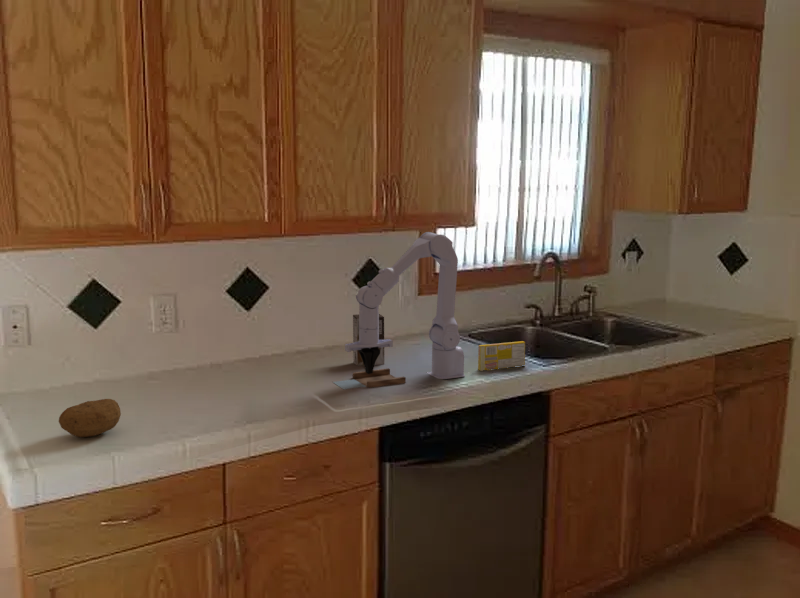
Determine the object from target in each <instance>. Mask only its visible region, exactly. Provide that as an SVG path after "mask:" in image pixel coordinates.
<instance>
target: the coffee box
mask: <svg viewBox="0 0 800 598" xmlns="http://www.w3.org/2000/svg"><path fill="white" fill-rule="evenodd" d="M352 338H353V339H352V340H353V341H352V343H354V342H358V341H359V313H358V314H353V315H352ZM379 340H385V316H384V315H382V314H380V313H379ZM378 349H379V350H380V354H379V356H378V358H377V360H376V362H375V365H374V366H377V365H385V347H381V348H378ZM352 352H353V353H352V355H353V356H352V357H353V358H352V360H353V362H352V363H353V364H354V365H355V366H358V367H359V366H364V363H363V360H362V358H361V356H360V354H359V352H358V350H355V351H352Z"/></svg>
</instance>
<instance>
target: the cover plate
mask: <svg viewBox="0 0 800 598" xmlns="http://www.w3.org/2000/svg"><path fill="white" fill-rule="evenodd" d="M332 383H333V384H335V385H336V386H338V387H339V388H341V389H342V390H349V389H358V388H363V387H366V386H365V385H363V384H361V383H360V382H358V381H357V380H355V379H353V378H352V379H345V380H339V381H332Z"/></svg>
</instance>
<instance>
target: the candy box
mask: <svg viewBox="0 0 800 598" xmlns="http://www.w3.org/2000/svg"><path fill="white" fill-rule="evenodd" d="M477 349H478V351H477V352H478V355H477V356H478V359H477V364H478V366H477V370H478V371H479V370H480V372H483V370H487V371H492V370H491V369H497V370H499V369H498V368H507V367H515V366H522V365H525V366H526V341H523V340H521V341H512V342H511V341H509V342H501V343H500V342H499V343H491V344H490V343H489V344H479V345H478V348H477ZM507 369H508V368H507Z"/></svg>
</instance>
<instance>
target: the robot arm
mask: <svg viewBox="0 0 800 598" xmlns="http://www.w3.org/2000/svg"><path fill="white" fill-rule="evenodd" d="M453 243H454V242H453V241H452V240H451V239H450V238H448V236H446V235H444V234H442V233H441V234H439V233H434V232H431V231H426V232H424V233H422V234H421V235H420V236H419V237H418V238H416V239H415V240H414V242H413V243H412V245H410V247H409V248H408V249H407V250H406V251H405V252H404V253H403V254H402V255H401V256H400V257H399V258H398V260H396V261H395V263H394V264H393V265H392V266H391V267H384V268H383V269H382V268H380V269H379V270H378V274H377V275H376V276H375V277H373V279H372V280H370V281H369V280H368V282H367V283H366V284H367V285H364V286H362V287H359V289H358V291H357V294H356V295H355V299H356V301H357V302H358V306H359V307H358V308H359V311H358V314H359V341H358V342H354V343H353V342H351V343H350V342H349V343H345V344H344V351H345V352H347V353H350V352H353V351H355V350H358V352H359V354H360V356H361V358H362V360H363V363H364V365H363V366H364V371H366V373H368V374H371V373H373V370H375V366H376V365H375V362H376V360H377V358H378V356H379V354H380V350H379V349H378V348H381V347H384V348H387V347H389V348H392V347H393V346H394V345H393V339H389V338H387V339H384V340H379V314H380V312H379V310H380V309H379V307H380V305H381V304H382V302H383V298H384V297H385V296H386V295H387V294H388V293H389V292H390V291H391V290H392V289H393V288H394V287H396V285H397V284H398V283H399V281H400V276H401V275H402V274H403V273H404V272H405V271H406V270H408V269H409V268H410V267H411V266H412V265H413V264H415V262H417V261H418V260H419V259H423V258H431V257H432V258H433V259H434V261H436V262H437V263H438V265H439V270H438V285H437V300H436V301H437V302H436V315H435V317H434V318H433V319H432V325H431V327H430V329H429V331H428V337H429V340H430V341H431V342H432V344H431V345H432V346H431V350H432V351H431V371H427V372H426V374H427V375H430V376H432V377H434V378H436V379H438V380H439V379H442V380H449V379H455V378H464V377H466V375H465V371H464V369H465V354H464V350H463V348H462V347H461V346H459V344H460V341H461V335H460V333H459V324H458V322H457V320H456V318H455V310H456V309H455V308H456V296H457V294H456V293H457V292H456V291H457V279H458V265H459V263H458V262H459V259H458V255H457V253H456V251H455V248H454V247H453Z"/></svg>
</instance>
